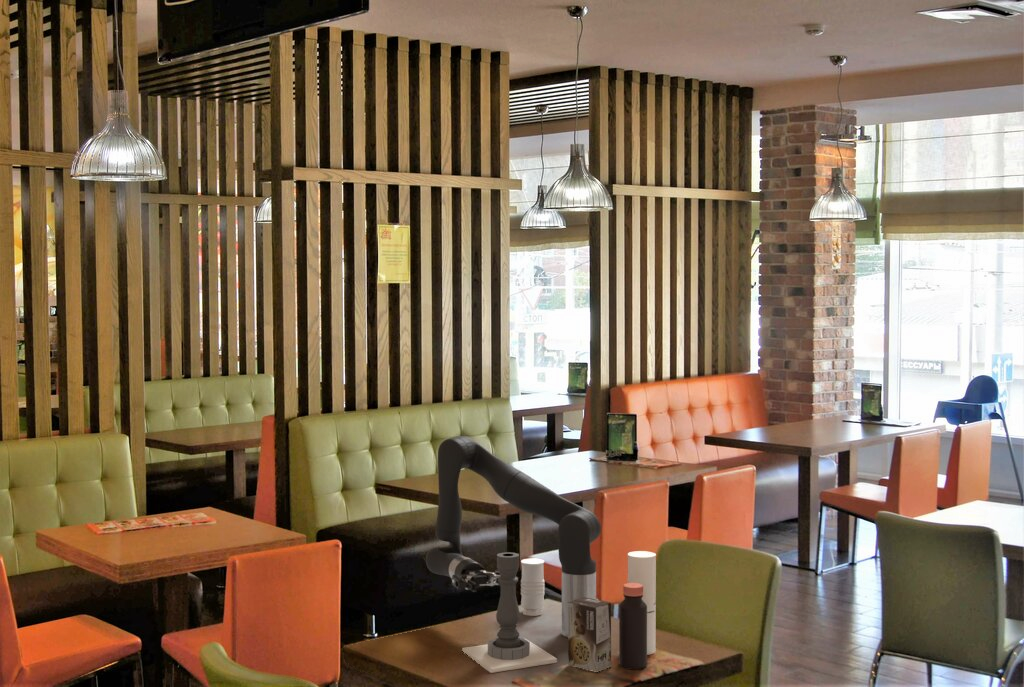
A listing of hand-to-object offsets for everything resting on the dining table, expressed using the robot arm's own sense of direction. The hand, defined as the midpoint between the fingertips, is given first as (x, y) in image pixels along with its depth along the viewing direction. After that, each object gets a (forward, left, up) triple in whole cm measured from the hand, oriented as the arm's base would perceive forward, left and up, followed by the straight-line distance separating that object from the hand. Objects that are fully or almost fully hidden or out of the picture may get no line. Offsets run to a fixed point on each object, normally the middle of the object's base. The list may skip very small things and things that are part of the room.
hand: (490, 586), depth 295 cm
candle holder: (0, +11, -15) cm, 18 cm away
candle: (-23, -22, -16) cm, 35 cm away
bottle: (-25, +30, -16) cm, 42 cm away
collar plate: (0, +11, -15) cm, 19 cm away
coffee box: (-15, +26, -16) cm, 34 cm away
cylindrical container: (-33, +21, -16) cm, 42 cm away
